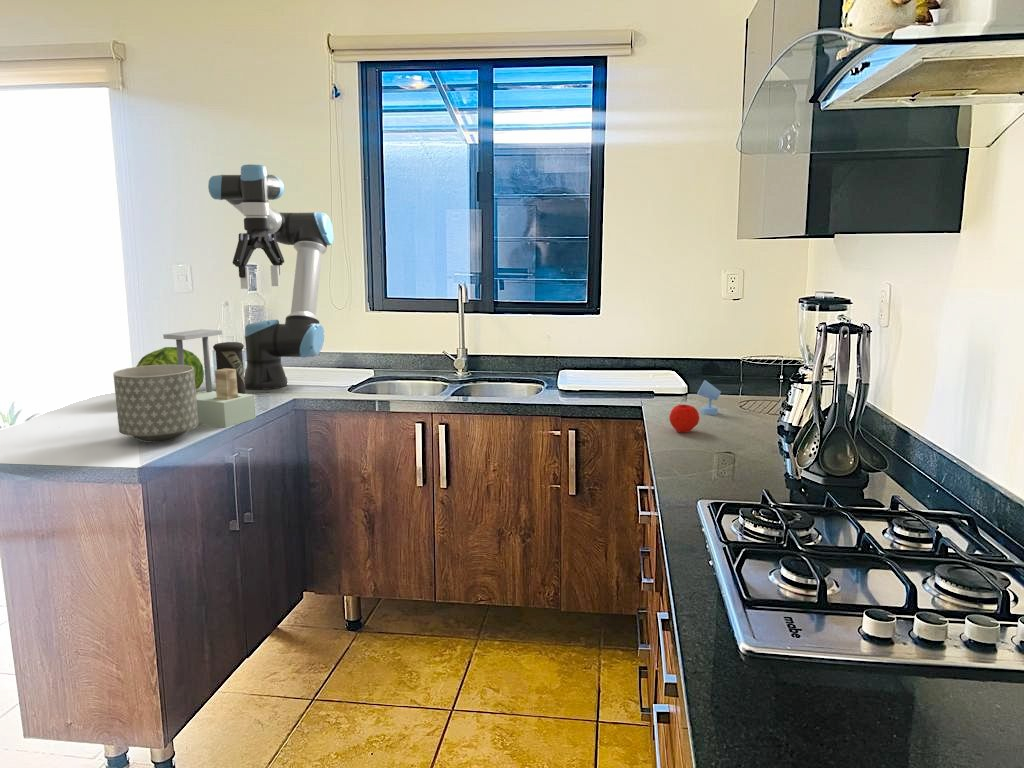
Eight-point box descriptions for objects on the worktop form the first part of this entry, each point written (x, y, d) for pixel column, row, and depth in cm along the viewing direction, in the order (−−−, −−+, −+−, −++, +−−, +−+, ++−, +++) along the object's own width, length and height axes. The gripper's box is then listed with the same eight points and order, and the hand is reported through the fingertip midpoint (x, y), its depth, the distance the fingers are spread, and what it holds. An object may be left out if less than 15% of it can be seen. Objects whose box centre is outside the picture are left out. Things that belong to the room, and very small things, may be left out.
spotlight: (695, 414, 230) (719, 415, 228) (696, 380, 228) (721, 382, 226) (696, 410, 234) (720, 412, 232) (697, 378, 233) (721, 379, 231)
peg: (228, 415, 226) (225, 368, 224) (239, 417, 225) (235, 369, 222) (218, 418, 223) (214, 370, 220) (229, 420, 221) (225, 371, 218)
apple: (704, 433, 206) (705, 406, 205) (677, 436, 204) (678, 408, 203) (689, 427, 214) (690, 400, 213) (663, 429, 212) (664, 402, 210)
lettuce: (105, 380, 244) (136, 350, 236) (157, 357, 265) (188, 328, 256) (142, 426, 246) (175, 398, 238) (191, 399, 267) (223, 372, 258)
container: (238, 408, 241) (233, 344, 237) (212, 407, 243) (207, 343, 239) (252, 402, 249) (248, 340, 246) (227, 401, 251) (222, 340, 247)
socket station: (170, 421, 223) (163, 334, 219) (207, 412, 236) (201, 329, 231) (223, 428, 216) (216, 337, 211) (258, 417, 228) (252, 332, 224)
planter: (146, 429, 215) (140, 364, 212) (212, 430, 213) (207, 364, 210) (104, 447, 197) (96, 376, 193) (175, 448, 195) (169, 377, 191)
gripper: (274, 218, 250) (278, 285, 254) (216, 216, 228) (221, 289, 231) (293, 218, 247) (297, 285, 251) (236, 216, 225) (241, 290, 228)
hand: (260, 287), depth 241 cm, fingers open, 13 cm apart
